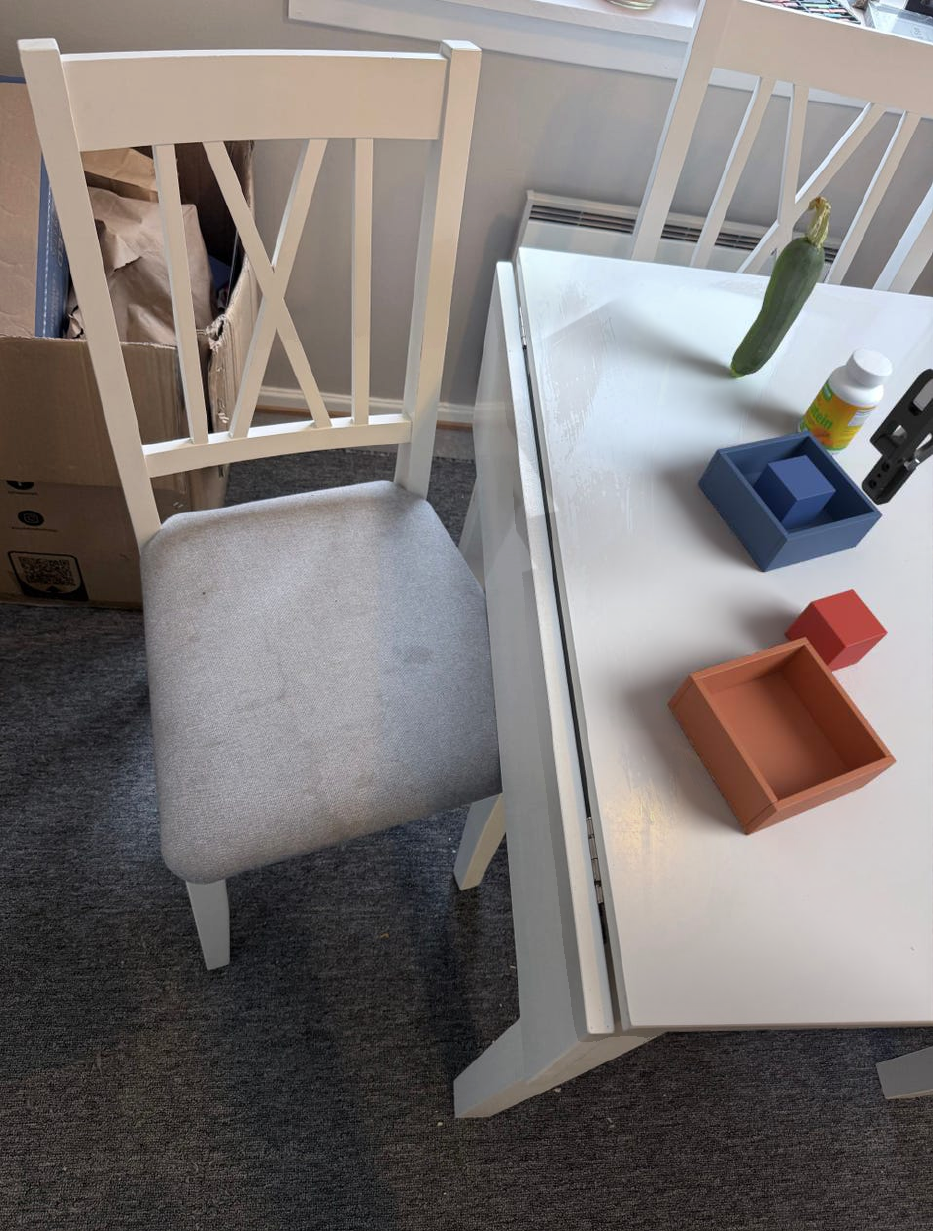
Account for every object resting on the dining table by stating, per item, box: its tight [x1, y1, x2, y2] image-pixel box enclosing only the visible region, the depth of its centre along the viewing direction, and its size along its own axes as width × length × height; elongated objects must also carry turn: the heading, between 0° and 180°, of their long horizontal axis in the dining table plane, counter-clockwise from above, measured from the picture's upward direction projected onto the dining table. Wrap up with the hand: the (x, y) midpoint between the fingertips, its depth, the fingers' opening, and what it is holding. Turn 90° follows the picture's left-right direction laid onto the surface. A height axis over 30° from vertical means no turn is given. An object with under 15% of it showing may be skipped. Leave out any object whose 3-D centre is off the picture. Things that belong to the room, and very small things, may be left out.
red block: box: [784, 588, 889, 673], centre depth 69 cm, size 5×5×5 cm
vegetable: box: [729, 196, 832, 379], centre depth 83 cm, size 4×4×20 cm
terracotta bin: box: [667, 637, 898, 836], centre depth 62 cm, size 11×11×4 cm
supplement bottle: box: [797, 348, 893, 455], centre depth 84 cm, size 5×5×10 cm
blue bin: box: [697, 431, 883, 573], centre depth 78 cm, size 11×11×4 cm
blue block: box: [752, 455, 836, 530], centre depth 77 cm, size 5×5×5 cm
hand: (915, 485), depth 61 cm, fingers open, 8 cm apart
